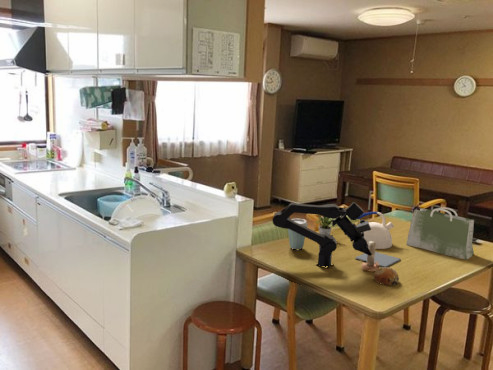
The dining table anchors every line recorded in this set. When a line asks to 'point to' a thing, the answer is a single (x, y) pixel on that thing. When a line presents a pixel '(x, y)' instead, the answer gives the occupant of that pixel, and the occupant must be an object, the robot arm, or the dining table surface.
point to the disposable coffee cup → (297, 235)
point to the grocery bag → (441, 232)
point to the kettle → (379, 232)
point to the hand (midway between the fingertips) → (370, 251)
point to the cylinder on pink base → (371, 259)
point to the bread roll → (386, 276)
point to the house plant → (325, 225)
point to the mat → (380, 259)
